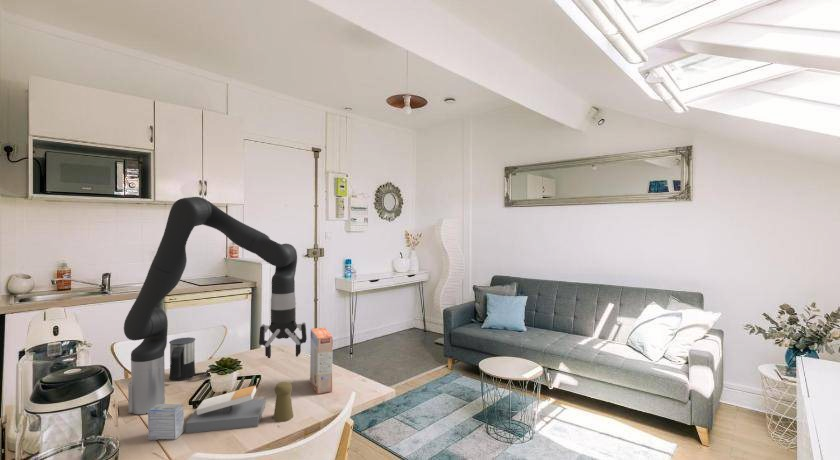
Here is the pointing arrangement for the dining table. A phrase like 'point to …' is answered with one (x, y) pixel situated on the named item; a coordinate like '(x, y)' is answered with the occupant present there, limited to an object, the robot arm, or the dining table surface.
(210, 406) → the rocker switch
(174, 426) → the medicine box
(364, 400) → the dining table surface
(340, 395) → the dining table surface
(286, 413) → the olive green pawn
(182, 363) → the milk frother
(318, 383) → the cracker box
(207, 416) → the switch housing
